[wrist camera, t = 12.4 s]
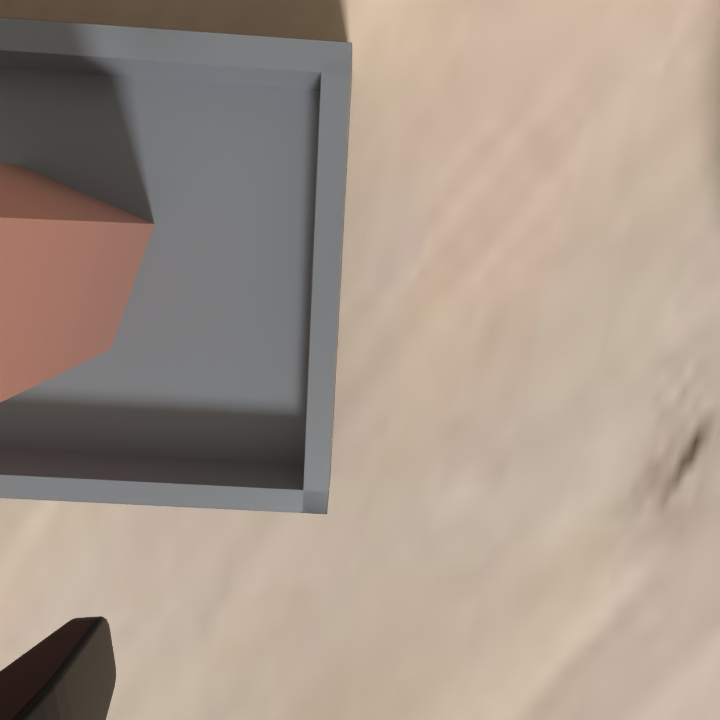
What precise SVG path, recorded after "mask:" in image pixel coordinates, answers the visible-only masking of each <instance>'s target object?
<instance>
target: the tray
mask: <svg viewBox="0 0 720 720" xmlns="http://www.w3.org/2000/svg"><path fill="white" fill-rule="evenodd" d="M351 82H352V43H350V42H336V41H322V40H308V39H294V38H280V37H266V36H252V35H238V34H224V33H210V32H196V31H182V30H168V29H154V28H140V27H126V26H112V25H98V24H84V23H70V22H56V21H42V20H27V19H13V18H0V162H4V163H9V164H14V165H19V166H21V167H23V168H26V169H28V170H30V171H33V172H35V173H37V174H40V175H42V176H44V177H47V178H49V179H51V180H53V181H56V182H58V183H60V184H63V185H65V186H67V187H70V188H72V189H74V190H77V191H79V192H81V193H84V194H86V195H88V196H90V197H93V198H95V199H97V200H100V201H102V202H104V203H107V204H109V205H111V206H114V207H116V208H118V209H121V210H123V211H125V212H127V213H130V214H132V215H134V216H137V217H139V218H141V219H144V220H146V221H148V222H151V223H153V224H154V226H153V229H152V232H151V235H150V238H149V241H148V243H147V246H146V249H145V252H144V255H143V258H142V261H141V263H140V266H139V269H138V272H137V275H136V278H135V280H134V283H133V286H132V289H131V292H130V295H129V298H128V300H127V303H126V306H125V309H124V312H123V315H122V318H121V320H120V323H119V326H118V329H117V332H116V335H115V338H114V340H113V343H112V346H111V349H110V350H108V351H106V352H104V353H102V354H100V355H98V356H96V357H94V358H91V359H89V360H87V361H85V362H83V363H81V364H79V365H77V366H75V367H73V368H71V369H69V370H67V371H65V372H62V373H60V374H58V375H56V376H54V377H52V378H50V379H48V380H46V381H44V382H42V383H40V384H38V385H36V386H34V387H31V388H29V389H27V390H25V391H23V392H21V393H19V394H17V395H15V396H13V397H11V398H9V399H7V400H5V401H2V402H0V498H12V499H32V500H52V501H72V502H92V503H112V504H133V505H153V506H173V507H193V508H213V509H233V510H253V511H273V512H293V513H313V514H327V509H328V498H329V487H330V474H331V456H332V437H333V418H334V400H335V381H336V362H337V344H338V325H339V306H340V288H341V269H342V250H343V232H344V213H345V194H346V176H347V157H348V138H349V120H350V101H351Z"/></svg>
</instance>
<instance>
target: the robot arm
mask: <svg viewBox="0 0 720 720" xmlns="http://www.w3.org/2000/svg"><path fill="white" fill-rule="evenodd" d="M115 680H116V666H115V659H114V653H113V646H112V640H111V633H110V627H109V624H108V622H107V619H105V618H104V617H101V616H100V617H85V618H75V619H72V620H70V621H69V622H67V623H66V624H65V625H63V626H62V627H60V628H59V629H58V630H56V631H55V632H54V633H52V634H51V635H49V636H48V637H47V638H45V639H44V640H43V641H41V642H40V643H39V644H37V645H36V646H34V647H33V648H32V649H30V650H29V651H28V652H26V653H25V654H23V655H22V656H21V657H19V658H18V659H17V660H15V661H14V662H13V663H11V664H10V665H8V666H7V667H6V668H4V669H3V670H2V671H0V720H106V717H107V713H108V709H109V706H110V702H111V698H112V695H113V691H114V687H115Z"/></svg>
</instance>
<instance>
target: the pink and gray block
mask: <svg viewBox="0 0 720 720" xmlns="http://www.w3.org/2000/svg"><path fill="white" fill-rule="evenodd" d="M153 226H154V224H153V223H151V222H148V221H146V220H144V219H141V218H139V217H137V216H134V215H132V214H130V213H127V212H125V211H123V210H121V209H118V208H116V207H114V206H111V205H109V204H107V203H104V202H102V201H100V200H97V199H95V198H93V197H90V196H88V195H86V194H84V193H81V192H79V191H77V190H74V189H72V188H70V187H67V186H65V185H63V184H60V183H58V182H56V181H53V180H51V179H49V178H47V177H44V176H42V175H40V174H37V173H35V172H33V171H30V170H28V169H26V168H23V167H21V166H19V165H14V164H9V163H4V162H0V402H2V401H5V400H7V399H9V398H11V397H13V396H15V395H17V394H19V393H21V392H23V391H25V390H27V389H29V388H31V387H34V386H36V385H38V384H40V383H42V382H44V381H46V380H48V379H50V378H52V377H54V376H56V375H58V374H60V373H62V372H65V371H67V370H69V369H71V368H73V367H75V366H77V365H79V364H81V363H83V362H85V361H87V360H89V359H91V358H94V357H96V356H98V355H100V354H102V353H104V352H106V351H108V350H110V349H111V346H112V343H113V340H114V338H115V335H116V332H117V329H118V326H119V323H120V320H121V318H122V315H123V312H124V309H125V306H126V303H127V300H128V298H129V295H130V292H131V289H132V286H133V283H134V280H135V278H136V275H137V272H138V269H139V266H140V263H141V261H142V258H143V255H144V252H145V249H146V246H147V243H148V241H149V238H150V235H151V232H152V229H153Z"/></svg>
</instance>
